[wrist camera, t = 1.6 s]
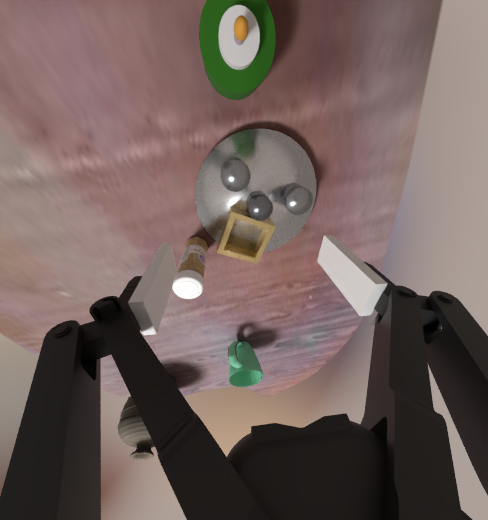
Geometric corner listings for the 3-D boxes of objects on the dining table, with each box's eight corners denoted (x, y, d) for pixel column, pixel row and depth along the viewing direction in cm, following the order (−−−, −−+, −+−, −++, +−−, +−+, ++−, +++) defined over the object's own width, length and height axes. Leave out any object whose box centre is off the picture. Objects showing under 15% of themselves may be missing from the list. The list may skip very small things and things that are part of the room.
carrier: (184, 233, 38) (179, 247, 33) (216, 100, 27) (215, 94, 22) (279, 260, 44) (286, 275, 39) (336, 161, 33) (355, 166, 29)
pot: (118, 378, 63) (90, 464, 46) (169, 360, 63) (159, 439, 47) (147, 397, 73) (133, 472, 57) (191, 381, 73) (190, 452, 57)
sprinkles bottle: (212, 245, 40) (209, 288, 29) (198, 258, 41) (190, 304, 30) (194, 231, 38) (184, 272, 27) (180, 246, 39) (165, 290, 28)
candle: (256, -3, 22) (277, -83, 14) (271, 87, 27) (294, 66, 19) (191, 26, 23) (176, -34, 15) (217, 109, 28) (216, 98, 19)
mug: (261, 348, 63) (268, 380, 55) (235, 357, 65) (237, 390, 56) (244, 324, 55) (249, 357, 47) (214, 335, 57) (214, 369, 48)
